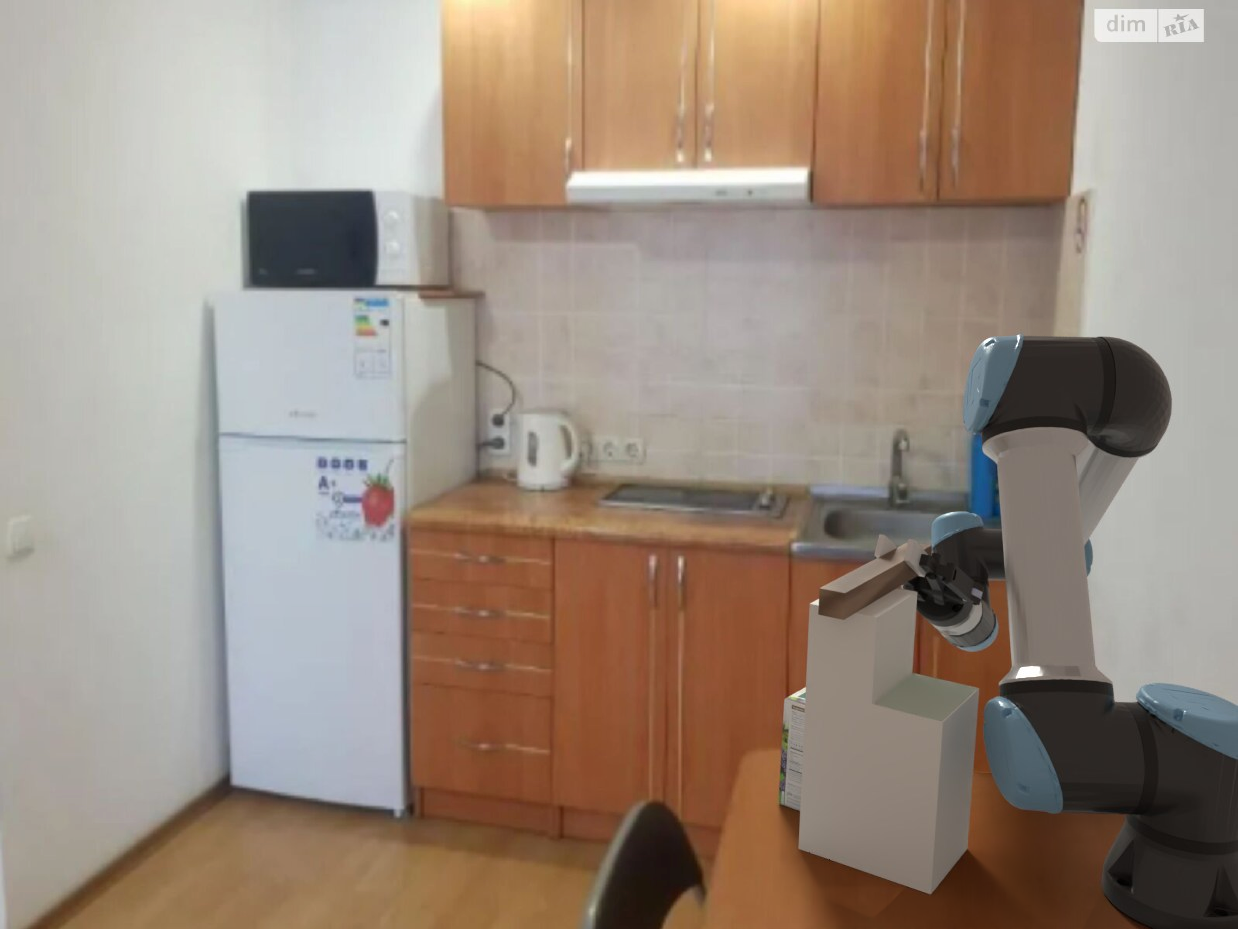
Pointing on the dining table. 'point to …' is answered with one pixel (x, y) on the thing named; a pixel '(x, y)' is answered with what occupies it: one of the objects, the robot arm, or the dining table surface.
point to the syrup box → (792, 750)
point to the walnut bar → (866, 584)
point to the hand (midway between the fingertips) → (894, 547)
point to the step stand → (884, 749)
